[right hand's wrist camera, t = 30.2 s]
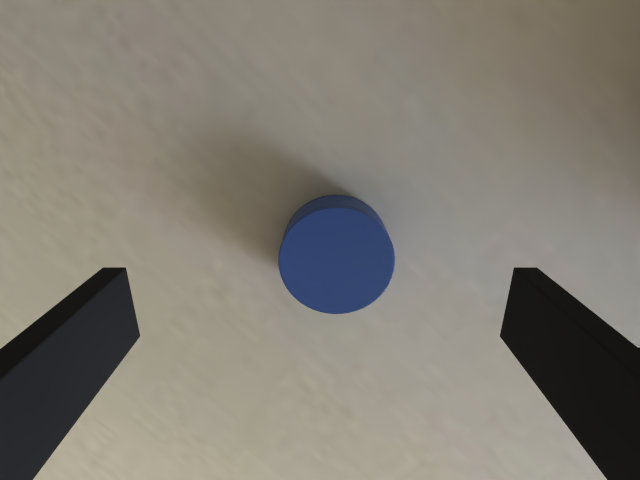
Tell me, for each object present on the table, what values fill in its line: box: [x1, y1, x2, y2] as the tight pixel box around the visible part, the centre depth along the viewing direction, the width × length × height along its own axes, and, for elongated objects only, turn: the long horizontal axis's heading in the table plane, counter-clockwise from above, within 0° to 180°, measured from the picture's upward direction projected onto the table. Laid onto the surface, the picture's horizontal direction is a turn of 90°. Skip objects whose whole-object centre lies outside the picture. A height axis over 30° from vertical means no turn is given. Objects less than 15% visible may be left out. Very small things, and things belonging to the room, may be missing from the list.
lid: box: [279, 195, 395, 314], centre depth 18 cm, size 5×5×2 cm
